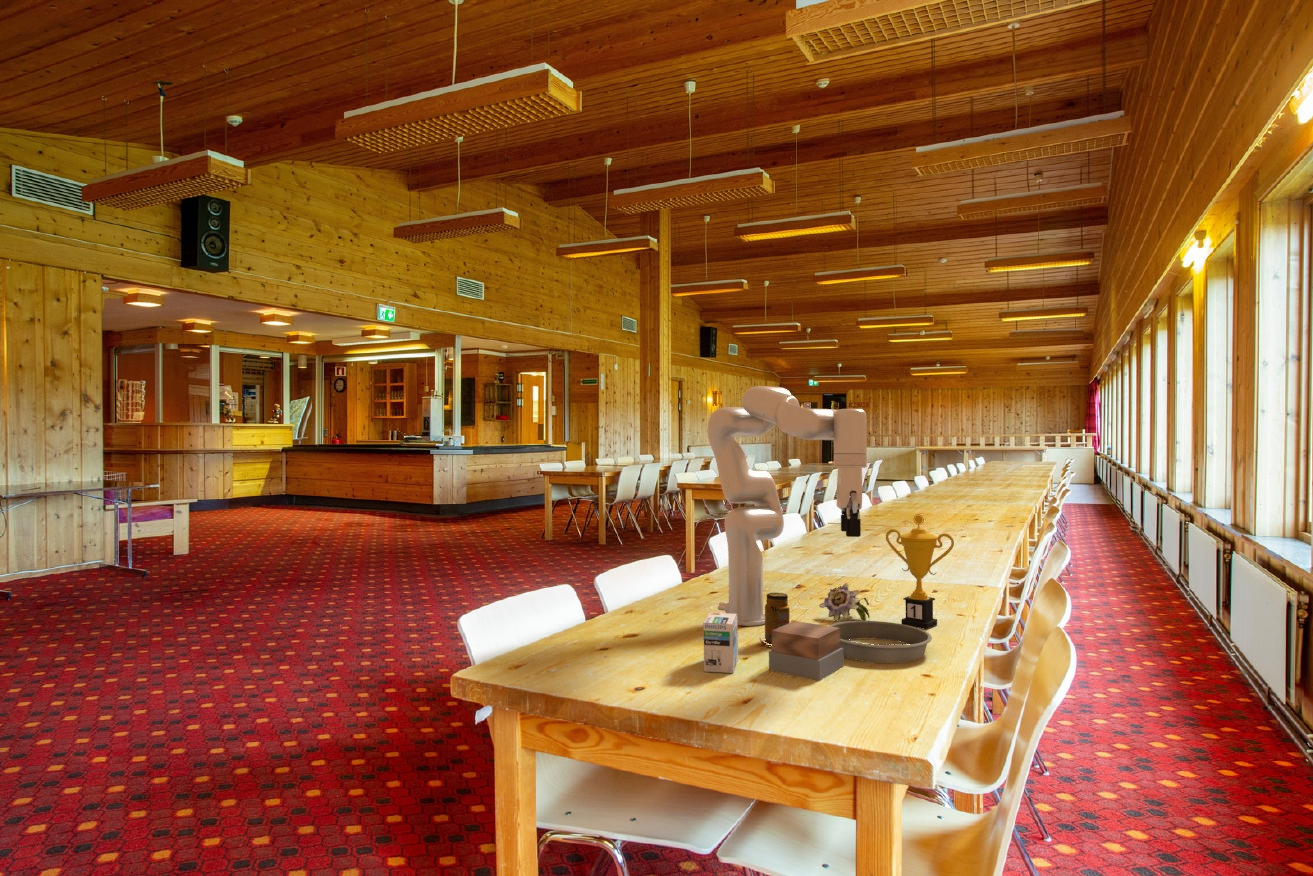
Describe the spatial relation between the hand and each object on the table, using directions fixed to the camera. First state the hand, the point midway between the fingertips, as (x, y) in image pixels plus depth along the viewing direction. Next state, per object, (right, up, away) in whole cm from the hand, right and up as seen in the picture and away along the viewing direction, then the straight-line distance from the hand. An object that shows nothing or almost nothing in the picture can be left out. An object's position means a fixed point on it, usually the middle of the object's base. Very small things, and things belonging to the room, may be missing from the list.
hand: (850, 533), depth 176 cm
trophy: (+25, -28, +26) cm, 46 cm away
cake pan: (+7, -29, +3) cm, 30 cm away
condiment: (-16, -29, +9) cm, 34 cm away
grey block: (-13, -29, -12) cm, 33 cm away
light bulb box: (-31, -29, -9) cm, 43 cm away
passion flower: (+7, -29, +34) cm, 45 cm away
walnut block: (-13, -24, -12) cm, 30 cm away
